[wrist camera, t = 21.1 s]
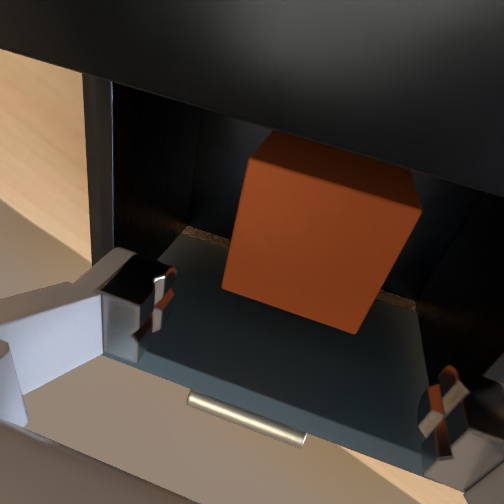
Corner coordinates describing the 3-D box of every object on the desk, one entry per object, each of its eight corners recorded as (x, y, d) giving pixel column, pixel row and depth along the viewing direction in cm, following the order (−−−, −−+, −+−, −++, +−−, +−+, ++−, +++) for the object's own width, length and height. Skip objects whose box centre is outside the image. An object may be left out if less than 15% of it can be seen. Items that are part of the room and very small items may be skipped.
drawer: (380, 388, 22) (384, 537, 16) (160, 309, 24) (83, 416, 17) (615, 44, 12) (912, 73, 5) (193, -60, 13) (29, -136, 7)
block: (358, 259, 17) (355, 336, 13) (255, 225, 17) (220, 289, 13) (407, 155, 14) (423, 211, 10) (282, 118, 14) (248, 157, 10)
